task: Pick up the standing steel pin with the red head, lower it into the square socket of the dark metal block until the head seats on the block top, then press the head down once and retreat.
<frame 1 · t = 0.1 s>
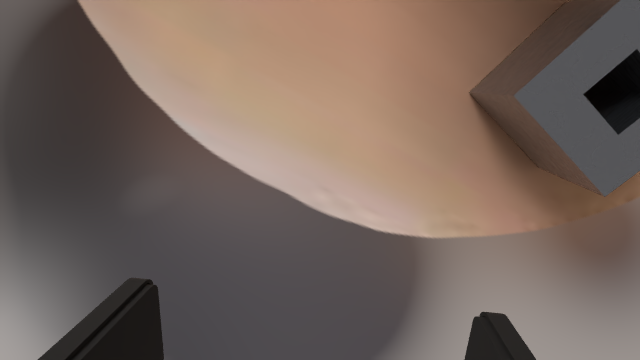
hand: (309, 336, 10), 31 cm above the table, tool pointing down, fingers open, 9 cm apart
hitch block: (550, 90, 36), on the table
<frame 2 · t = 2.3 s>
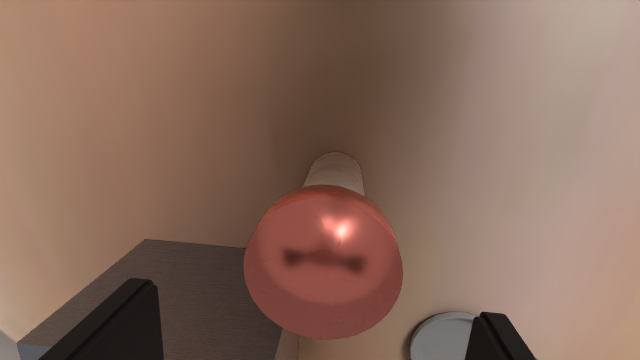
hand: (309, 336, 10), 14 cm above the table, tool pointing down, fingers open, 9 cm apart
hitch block: (225, 313, 27), on the table
lynch pin: (335, 177, 23), on the table
pocket watch: (464, 347, 26), on the table
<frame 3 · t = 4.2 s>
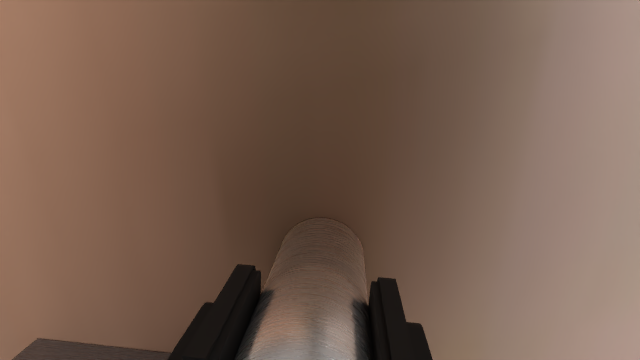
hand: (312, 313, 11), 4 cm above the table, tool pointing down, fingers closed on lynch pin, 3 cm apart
lynch pin: (321, 256, 15), on the table, touching gripper
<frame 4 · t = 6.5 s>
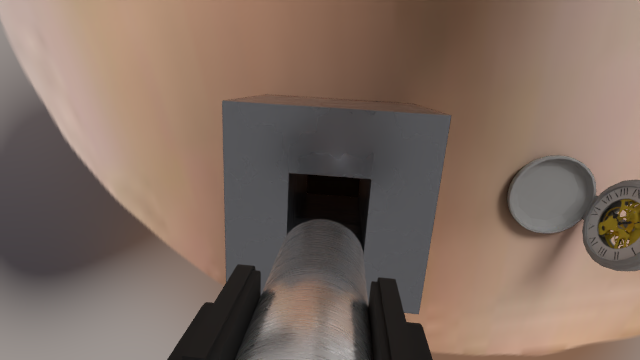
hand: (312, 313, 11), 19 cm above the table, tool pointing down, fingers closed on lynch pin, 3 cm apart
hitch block: (334, 170, 29), on the table
lynch pin: (321, 258, 15), point 15 cm above the table, touching gripper
pocket watch: (556, 197, 29), on the table
when the fingers open (11 cm above the table, at t = 9.0 s): lynch pin drops 7 cm, resting on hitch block.
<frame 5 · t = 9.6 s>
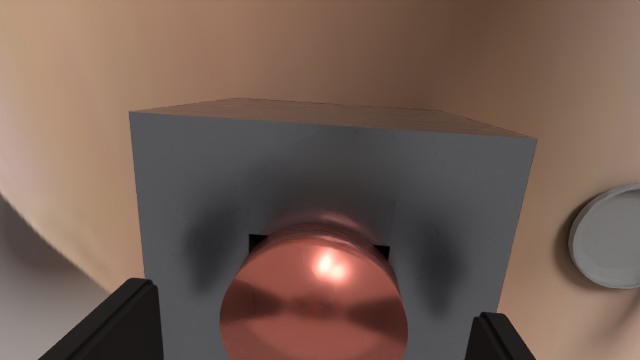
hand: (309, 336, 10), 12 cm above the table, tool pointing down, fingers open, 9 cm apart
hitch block: (329, 200, 22), on the table
lynch pin: (330, 201, 21), resting on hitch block
pocket watch: (634, 238, 21), on the table
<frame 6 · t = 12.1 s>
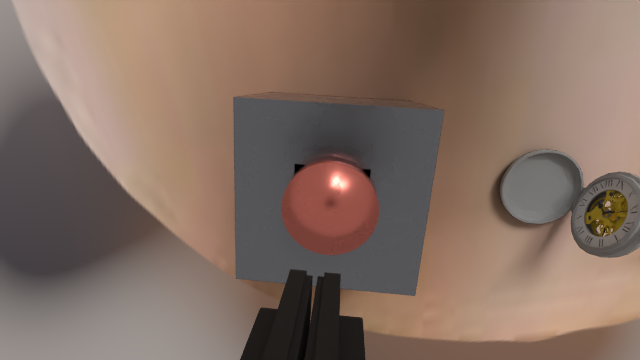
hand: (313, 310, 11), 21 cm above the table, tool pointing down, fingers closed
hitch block: (335, 164, 31), on the table
lynch pin: (336, 164, 30), resting on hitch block
pocket watch: (546, 189, 30), on the table
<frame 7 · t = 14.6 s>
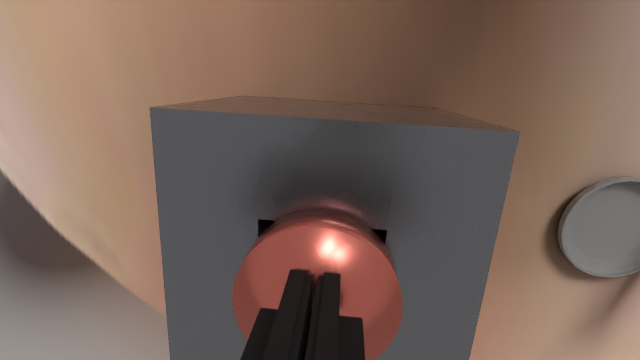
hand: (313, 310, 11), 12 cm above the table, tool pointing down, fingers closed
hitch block: (331, 193, 23), on the table
lynch pin: (331, 194, 22), resting on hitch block, touching gripper
pocket watch: (621, 230, 22), on the table
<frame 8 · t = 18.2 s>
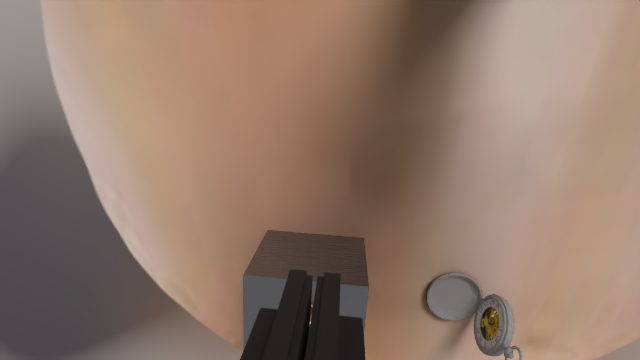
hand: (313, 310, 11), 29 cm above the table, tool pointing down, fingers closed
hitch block: (312, 276, 44), on the table
pocket watch: (460, 296, 43), on the table
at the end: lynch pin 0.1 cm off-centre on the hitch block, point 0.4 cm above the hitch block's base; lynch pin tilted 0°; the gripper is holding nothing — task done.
